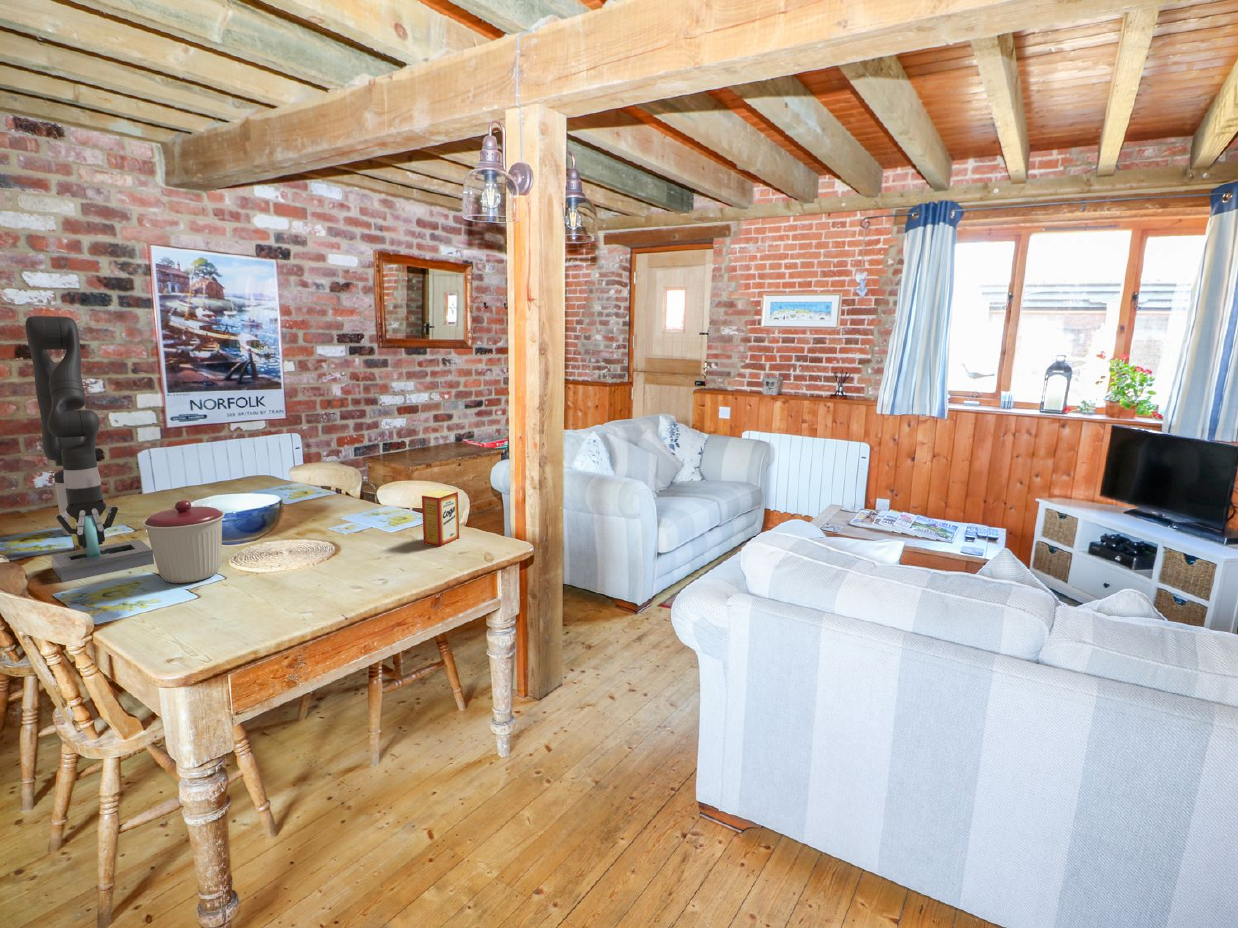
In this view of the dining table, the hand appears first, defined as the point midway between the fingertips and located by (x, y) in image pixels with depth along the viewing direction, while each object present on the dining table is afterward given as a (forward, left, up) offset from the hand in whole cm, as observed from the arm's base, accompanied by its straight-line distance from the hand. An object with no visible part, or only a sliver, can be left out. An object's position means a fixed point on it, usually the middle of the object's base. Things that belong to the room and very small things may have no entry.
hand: (91, 545), depth 177 cm
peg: (0, 0, -6) cm, 6 cm away
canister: (+26, +16, -7) cm, 31 cm away
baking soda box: (+47, +80, -7) cm, 93 cm away
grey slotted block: (0, +2, -7) cm, 7 cm away
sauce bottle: (-22, +2, -7) cm, 23 cm away
